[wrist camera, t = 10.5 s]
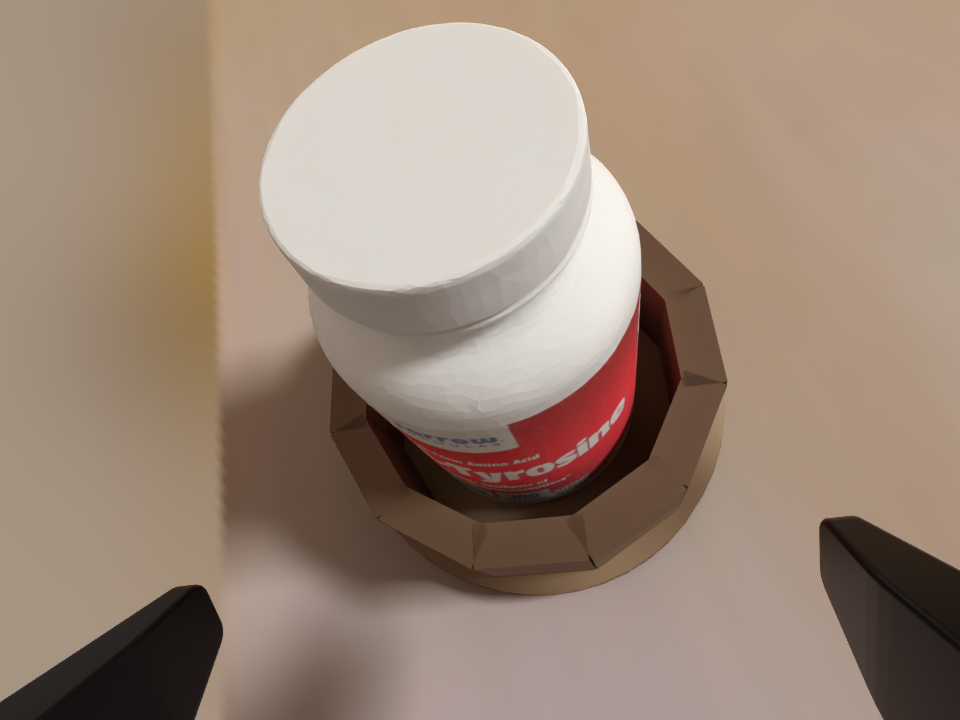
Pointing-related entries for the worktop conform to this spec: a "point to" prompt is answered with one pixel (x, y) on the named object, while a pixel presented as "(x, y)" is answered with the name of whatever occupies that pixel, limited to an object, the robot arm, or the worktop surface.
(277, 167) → the pill bottle
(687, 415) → the collar stand
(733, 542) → the worktop surface
